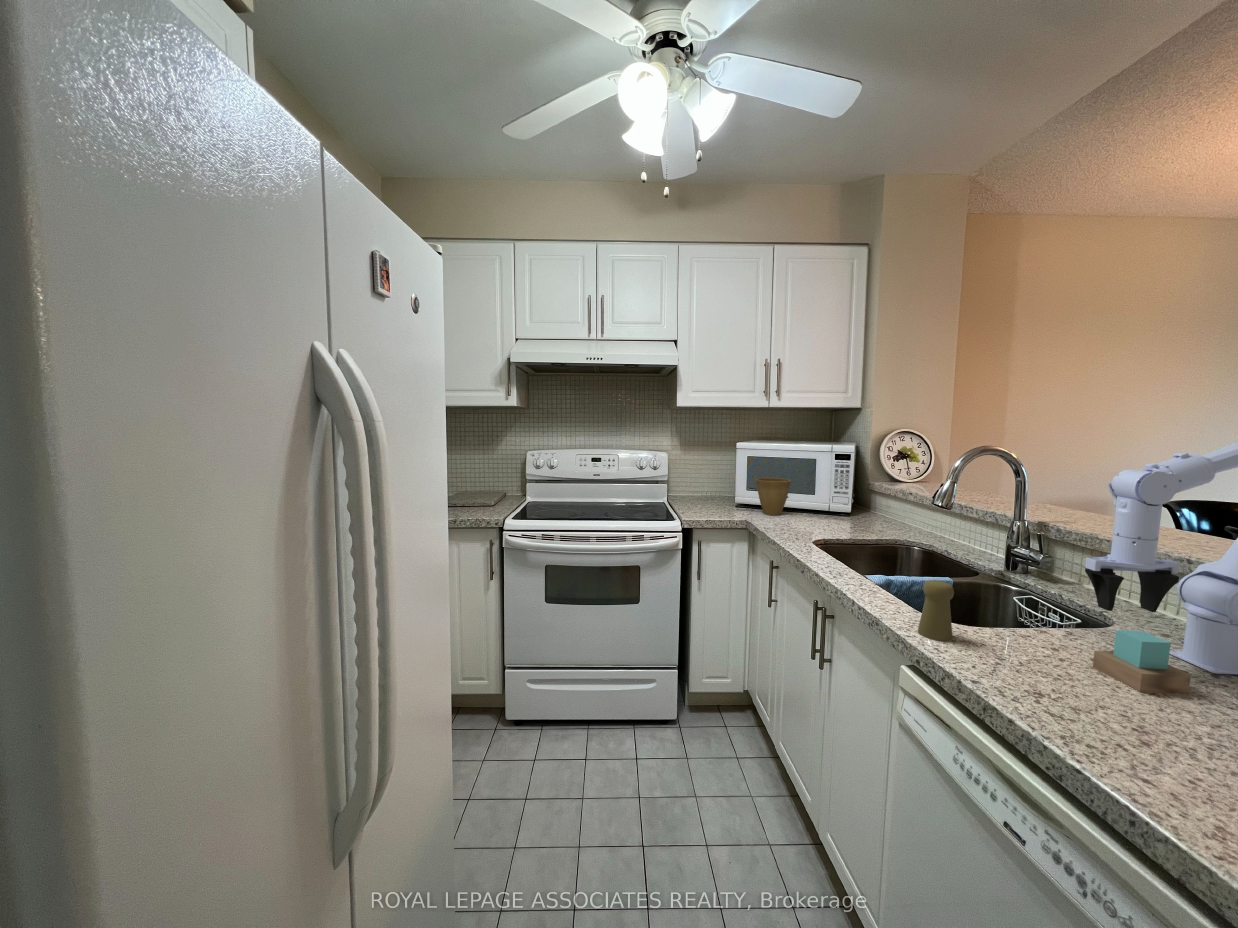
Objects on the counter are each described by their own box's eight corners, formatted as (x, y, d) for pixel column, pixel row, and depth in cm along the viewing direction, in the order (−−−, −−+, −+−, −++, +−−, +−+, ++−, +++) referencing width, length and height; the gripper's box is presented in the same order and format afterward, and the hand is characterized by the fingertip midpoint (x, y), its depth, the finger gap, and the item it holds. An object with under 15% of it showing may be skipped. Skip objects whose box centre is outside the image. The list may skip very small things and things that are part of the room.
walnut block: (1137, 670, 89) (1139, 651, 89) (1188, 695, 81) (1191, 674, 81) (1092, 669, 89) (1094, 650, 88) (1139, 694, 81) (1141, 673, 80)
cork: (920, 625, 106) (924, 575, 104) (954, 634, 102) (958, 581, 101) (915, 635, 101) (919, 582, 100) (950, 644, 97) (955, 589, 96)
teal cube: (1140, 656, 87) (1143, 631, 86) (1167, 669, 82) (1170, 642, 82) (1113, 654, 87) (1116, 630, 86) (1138, 667, 82) (1142, 641, 82)
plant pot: (787, 512, 234) (788, 478, 233) (790, 518, 220) (792, 482, 218) (754, 510, 238) (755, 476, 236) (755, 516, 223) (757, 480, 222)
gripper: (1154, 532, 94) (1145, 602, 95) (1074, 530, 94) (1067, 600, 96) (1195, 541, 87) (1186, 617, 88) (1109, 539, 87) (1101, 614, 89)
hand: (1126, 609), depth 91 cm, fingers open, 7 cm apart
